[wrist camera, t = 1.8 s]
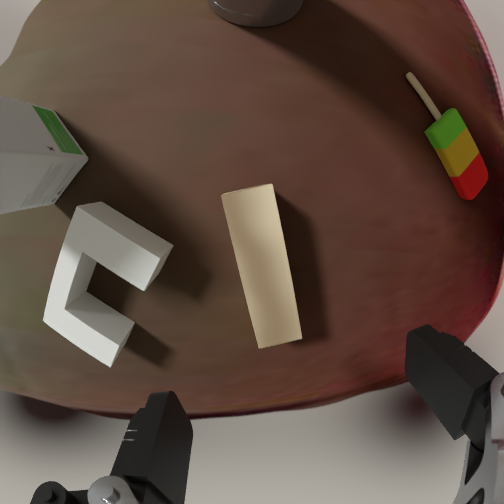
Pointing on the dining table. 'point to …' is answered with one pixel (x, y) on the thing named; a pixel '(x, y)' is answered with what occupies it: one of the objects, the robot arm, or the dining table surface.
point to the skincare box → (34, 156)
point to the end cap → (81, 269)
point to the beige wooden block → (263, 263)
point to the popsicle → (454, 147)
